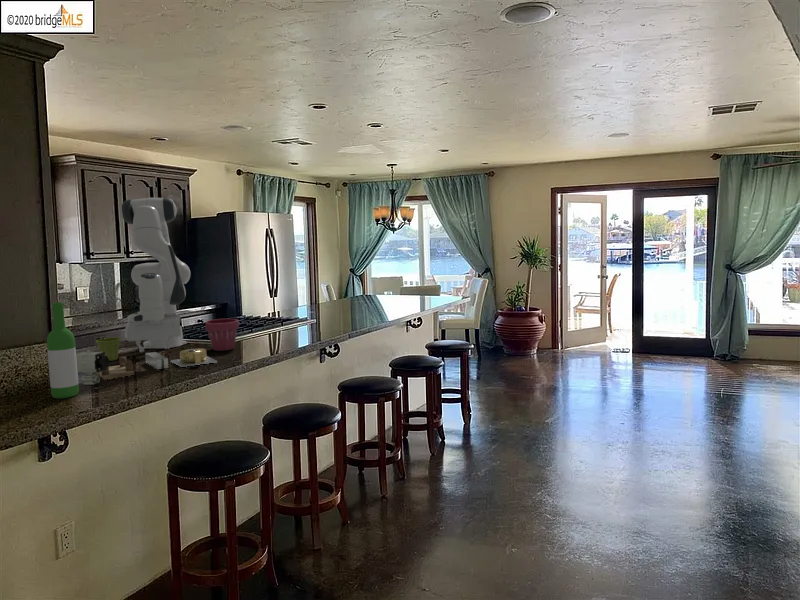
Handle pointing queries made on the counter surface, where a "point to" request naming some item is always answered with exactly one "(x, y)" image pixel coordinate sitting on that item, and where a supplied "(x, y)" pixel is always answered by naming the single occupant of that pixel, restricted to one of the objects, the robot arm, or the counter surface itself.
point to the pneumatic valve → (91, 365)
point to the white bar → (156, 360)
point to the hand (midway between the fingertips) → (154, 350)
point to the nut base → (185, 364)
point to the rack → (118, 370)
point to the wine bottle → (62, 357)
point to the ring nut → (193, 355)
